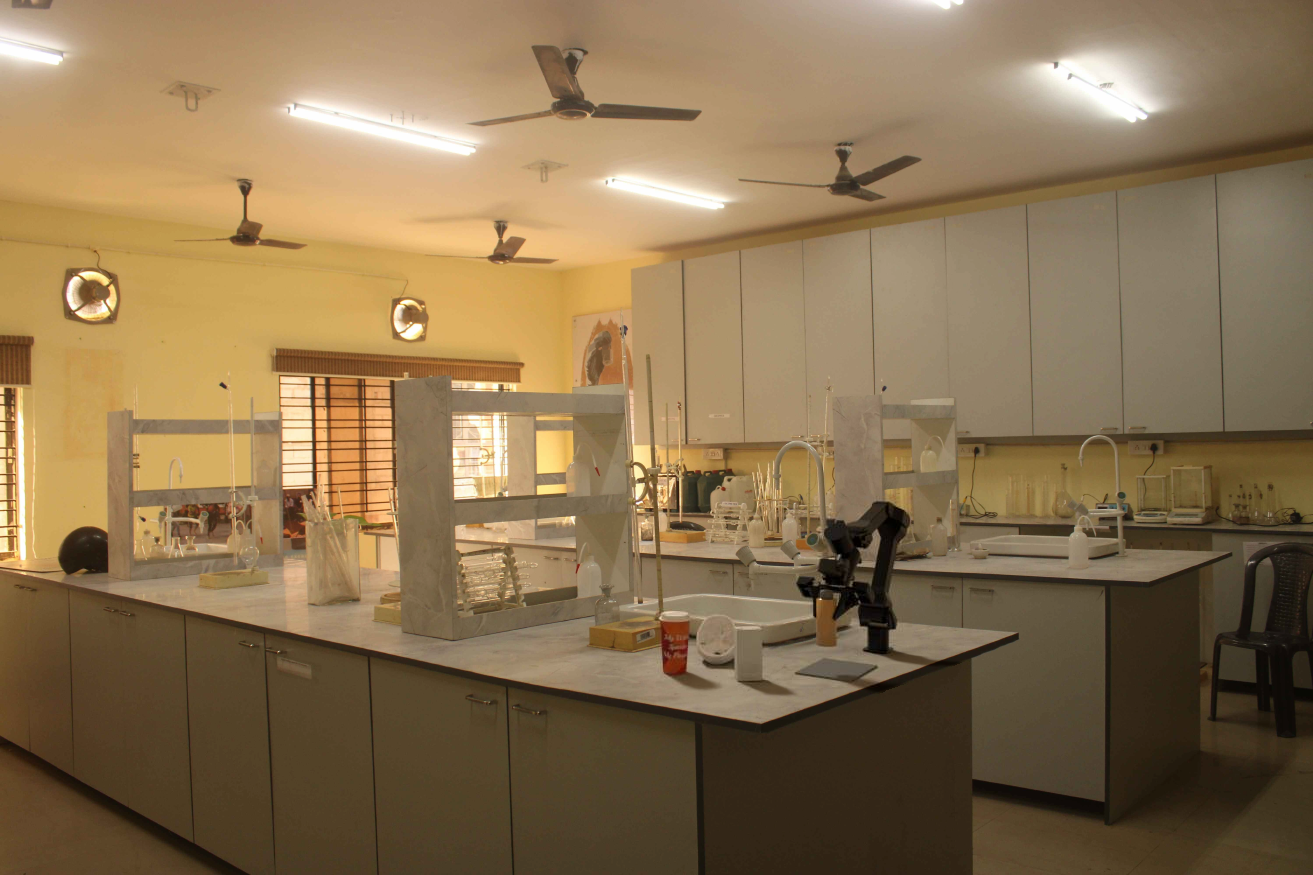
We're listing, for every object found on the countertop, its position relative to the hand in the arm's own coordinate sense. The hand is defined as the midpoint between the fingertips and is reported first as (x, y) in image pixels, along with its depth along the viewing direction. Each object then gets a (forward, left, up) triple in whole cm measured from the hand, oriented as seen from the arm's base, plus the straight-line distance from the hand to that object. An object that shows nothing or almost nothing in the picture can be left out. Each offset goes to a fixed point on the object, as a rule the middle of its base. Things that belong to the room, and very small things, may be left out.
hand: (824, 617), depth 228 cm
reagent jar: (-1, 0, -7) cm, 7 cm away
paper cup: (+18, -31, -14) cm, 38 cm away
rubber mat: (-5, +1, -13) cm, 14 cm away
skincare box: (+15, -13, -14) cm, 24 cm away
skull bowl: (+1, -28, -14) cm, 31 cm away
